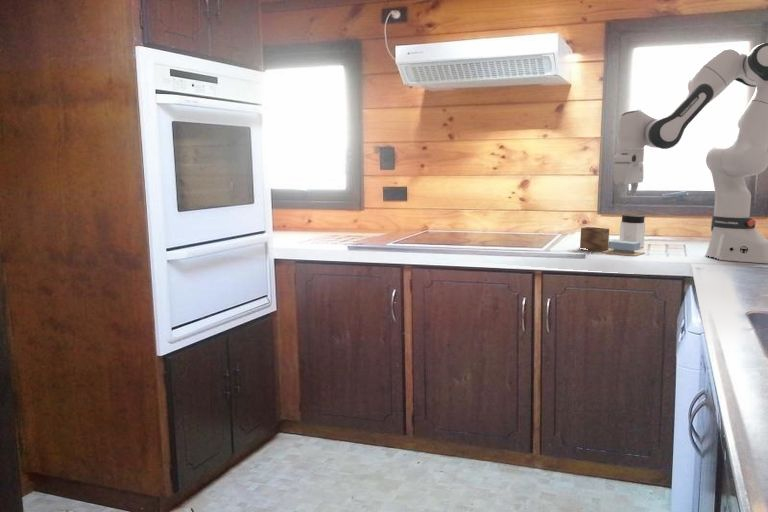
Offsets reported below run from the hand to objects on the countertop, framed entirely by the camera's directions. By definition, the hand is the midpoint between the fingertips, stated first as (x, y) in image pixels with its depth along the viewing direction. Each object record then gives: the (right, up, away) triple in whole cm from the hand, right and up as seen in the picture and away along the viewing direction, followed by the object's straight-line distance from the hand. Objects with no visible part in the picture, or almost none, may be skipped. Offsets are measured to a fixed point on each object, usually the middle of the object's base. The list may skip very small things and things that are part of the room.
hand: (628, 196), depth 250 cm
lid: (-1, -20, +2) cm, 20 cm away
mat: (-1, -20, +2) cm, 20 cm away
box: (-10, -19, +8) cm, 23 cm away
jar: (+8, -18, +19) cm, 27 cm away
